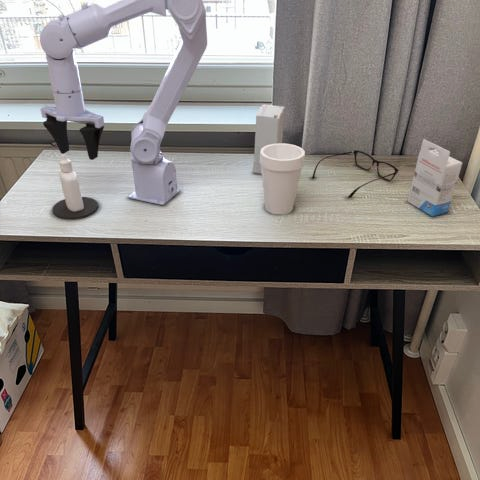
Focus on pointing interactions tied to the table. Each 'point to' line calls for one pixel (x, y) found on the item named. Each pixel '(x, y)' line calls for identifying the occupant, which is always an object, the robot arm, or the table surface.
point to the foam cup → (281, 175)
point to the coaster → (89, 208)
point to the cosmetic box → (267, 130)
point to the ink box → (434, 179)
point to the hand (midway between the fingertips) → (79, 155)
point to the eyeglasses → (364, 169)
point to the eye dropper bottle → (70, 185)
